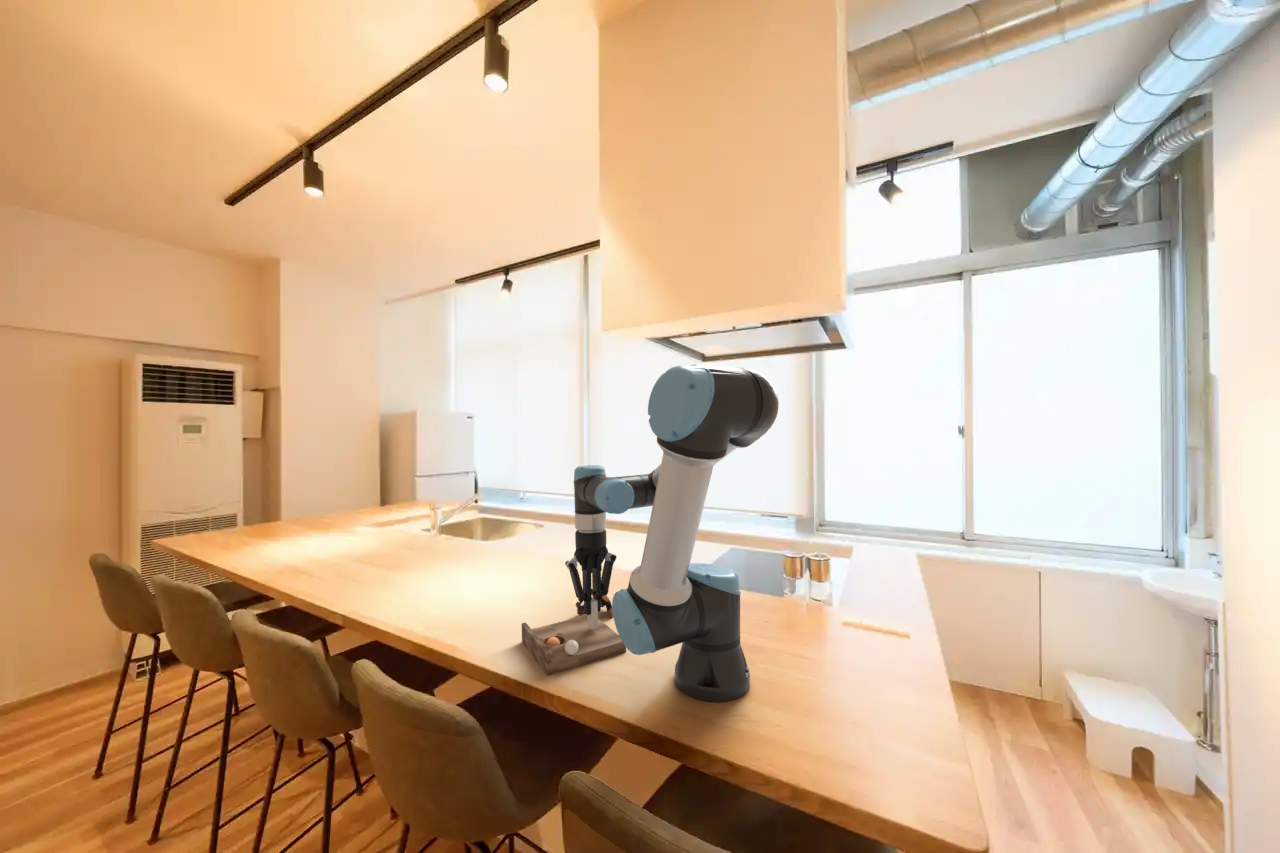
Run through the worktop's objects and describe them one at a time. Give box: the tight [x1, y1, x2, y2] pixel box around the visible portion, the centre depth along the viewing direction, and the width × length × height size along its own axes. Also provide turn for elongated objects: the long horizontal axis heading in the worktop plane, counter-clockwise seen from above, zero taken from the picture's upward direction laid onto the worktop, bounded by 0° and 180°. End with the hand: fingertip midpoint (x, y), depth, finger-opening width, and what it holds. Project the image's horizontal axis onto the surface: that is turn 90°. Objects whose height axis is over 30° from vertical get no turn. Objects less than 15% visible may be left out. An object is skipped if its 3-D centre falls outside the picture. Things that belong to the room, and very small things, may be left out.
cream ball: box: [565, 640, 578, 655], centre depth 102 cm, size 3×3×3 cm
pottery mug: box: [575, 590, 614, 619], centre depth 129 cm, size 12×10×8 cm
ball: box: [546, 637, 560, 646], centre depth 108 cm, size 3×3×3 cm
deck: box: [521, 614, 627, 677], centre depth 111 cm, size 18×19×4 cm
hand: (592, 626), depth 113 cm, fingers closed
